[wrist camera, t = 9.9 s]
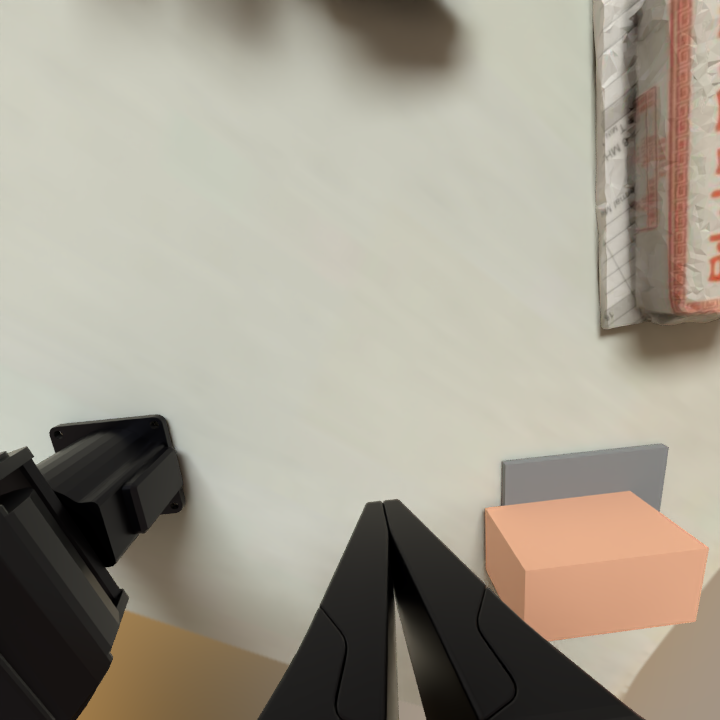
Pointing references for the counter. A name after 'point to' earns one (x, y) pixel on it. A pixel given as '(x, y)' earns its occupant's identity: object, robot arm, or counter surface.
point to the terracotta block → (593, 565)
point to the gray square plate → (586, 475)
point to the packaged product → (658, 160)
